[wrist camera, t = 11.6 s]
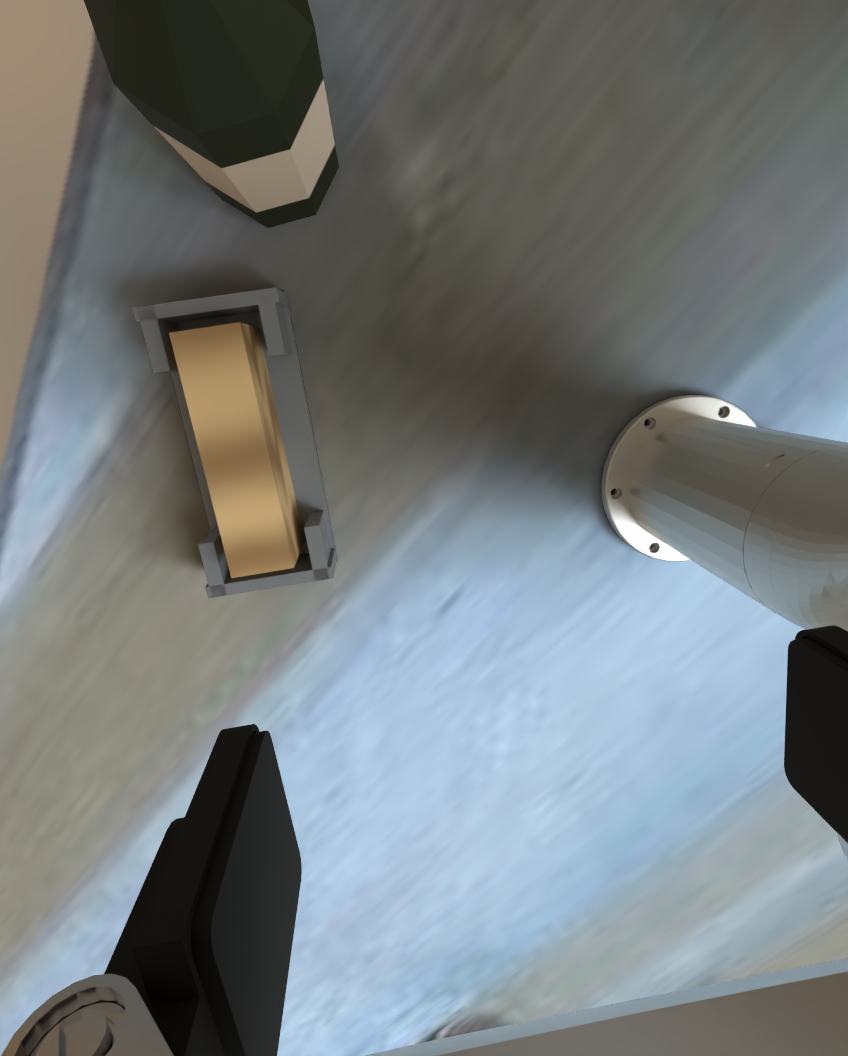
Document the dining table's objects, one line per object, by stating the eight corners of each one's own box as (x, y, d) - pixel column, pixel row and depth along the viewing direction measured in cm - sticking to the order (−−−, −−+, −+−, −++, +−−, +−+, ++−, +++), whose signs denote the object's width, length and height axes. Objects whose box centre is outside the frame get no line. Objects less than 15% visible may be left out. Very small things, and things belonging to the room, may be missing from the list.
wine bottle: (266, 256, 39) (-27, -32, 10) (175, 139, 37) (-520, -641, 8) (365, 171, 38) (347, -399, 9) (278, 46, 36) (-90, -1188, 7)
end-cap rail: (157, 310, 39) (131, 303, 35) (286, 292, 40) (275, 283, 35) (224, 577, 45) (208, 600, 40) (337, 559, 45) (333, 580, 41)
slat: (198, 336, 40) (168, 332, 34) (258, 327, 40) (239, 322, 34) (250, 549, 44) (231, 578, 38) (304, 540, 44) (294, 567, 38)
